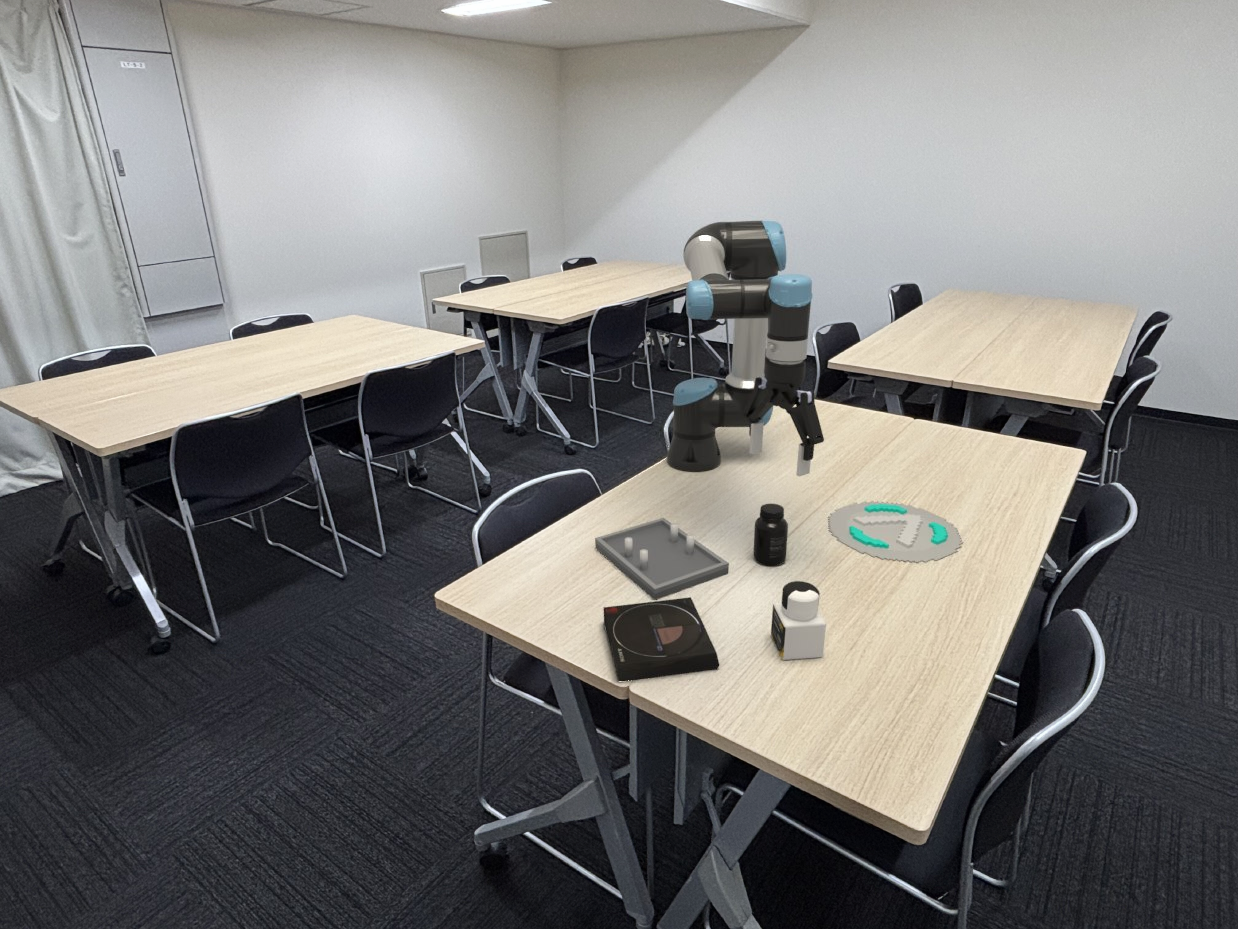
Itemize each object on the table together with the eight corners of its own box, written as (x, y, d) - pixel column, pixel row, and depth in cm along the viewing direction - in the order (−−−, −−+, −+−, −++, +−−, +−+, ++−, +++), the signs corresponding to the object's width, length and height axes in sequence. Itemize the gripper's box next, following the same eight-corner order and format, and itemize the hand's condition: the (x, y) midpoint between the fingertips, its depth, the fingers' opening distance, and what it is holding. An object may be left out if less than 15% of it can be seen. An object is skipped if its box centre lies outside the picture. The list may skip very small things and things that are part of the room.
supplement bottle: (787, 553, 153) (791, 503, 148) (783, 569, 147) (787, 517, 142) (755, 548, 155) (758, 499, 150) (750, 564, 149) (753, 513, 144)
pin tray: (595, 548, 157) (594, 526, 154) (663, 527, 165) (663, 505, 163) (654, 600, 138) (654, 575, 135) (728, 573, 146) (729, 550, 144)
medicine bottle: (770, 635, 127) (774, 577, 122) (809, 632, 127) (815, 575, 122) (781, 661, 120) (786, 601, 115) (823, 658, 120) (829, 598, 116)
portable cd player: (719, 671, 119) (720, 652, 117) (618, 684, 116) (618, 665, 115) (693, 614, 134) (694, 596, 132) (604, 625, 131) (603, 607, 130)
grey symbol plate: (987, 540, 157) (988, 534, 156) (902, 578, 144) (903, 571, 143) (884, 495, 179) (885, 489, 178) (802, 524, 166) (803, 517, 165)
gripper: (728, 349, 142) (724, 448, 151) (820, 377, 123) (810, 489, 131) (756, 344, 146) (751, 440, 154) (850, 370, 126) (839, 479, 134)
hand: (778, 463), depth 142 cm, fingers open, 13 cm apart
